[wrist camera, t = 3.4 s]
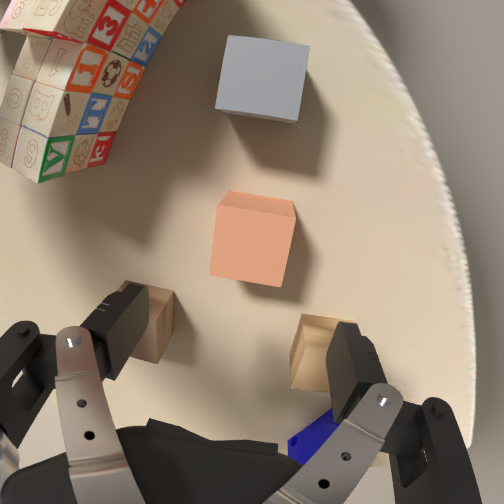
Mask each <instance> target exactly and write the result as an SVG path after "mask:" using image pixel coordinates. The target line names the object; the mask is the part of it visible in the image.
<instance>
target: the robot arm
mask: <svg viewBox="0 0 504 504" xmlns="http://www.w3.org/2000/svg"><path fill="white" fill-rule="evenodd" d="M11 1H12V0H0V23H1V21H2V19H3V17H4V15H5V13H6V11H7V9H8V7H9V5H10V3H11ZM148 323H149V290H148V287H147V286H145V285H140V284H136V283H132V282H130V283H129V284H128V285H127V286H126V287H125V288H124V289H123V291H122V292H120V291H116V292H114V293H112V294H110V295H108V296H107V297H106V298H105V299H104V300H103V301H102V303H100V305H99V306H98V307H97V309H95V310H94V311H93V312H92V313H91V314H90V315H89V316H88V317H87V319H86V320H85V321H84V322H83V323H82V324H81V325H80V326H71V327H67V328H64V329H62V330H61V331H60V332H59V333H58V334H57V336H55V335H46V334H40V331H39V328H38V326H37V324H36V323H34V322H32V321H20V322H17V323H15V324H14V325H12V326H11V327H10V328H9V329H8V330H7V331H6V332H5V333H4V334H3V336H2V337H1V338H0V504H343V503H344V502H345V501H346V499H347V498H348V497H349V495H350V494H351V492H352V491H353V490H354V488H355V487H356V486H357V484H358V483H359V481H360V480H361V479H362V477H363V475H364V474H365V472H366V471H367V470H368V468H369V467H370V465H371V464H372V462H373V460H374V459H375V457H376V456H377V454H378V452H379V451H381V452H385V453H389V459H390V465H391V472H392V479H393V487H394V495H395V503H396V504H482V501H481V497H480V493H479V489H478V485H477V482H476V478H475V475H474V472H473V468H472V465H471V462H470V459H469V455H468V452H467V449H466V446H465V443H464V440H463V438H462V435H461V432H460V429H459V427H458V424H457V421H456V419H455V416H454V413H453V411H452V409H451V407H450V405H449V404H448V403H447V402H445V401H444V400H442V399H440V398H436V397H430V398H428V399H426V400H425V401H424V402H423V404H422V405H417V404H413V403H409V402H406V401H403V397H402V395H401V393H400V392H399V391H398V390H397V389H396V388H395V387H393V386H391V385H389V384H388V383H387V380H386V378H385V375H384V372H383V369H382V366H381V363H380V362H379V358H378V355H376V353H377V352H376V350H375V347H374V344H373V343H372V342H371V341H370V340H369V339H368V338H367V337H366V336H361V333H360V330H359V328H358V325H357V324H356V323H349V322H342V321H339V322H338V324H337V326H336V329H335V331H334V334H333V337H332V339H331V342H330V345H329V347H328V350H327V354H326V368H327V375H328V381H329V388H330V395H331V402H332V410H333V417H334V423H341V424H340V425H339V426H338V428H337V429H336V430H335V431H334V432H333V434H332V435H331V436H330V437H329V438H328V439H327V441H326V442H325V443H324V444H323V445H322V446H321V447H320V449H319V450H318V451H317V452H316V453H315V454H314V455H313V456H312V457H311V458H310V459H309V461H308V462H307V463H306V464H305V465H304V466H303V465H301V464H300V463H299V462H297V461H296V460H294V459H292V458H290V457H288V456H286V455H284V454H281V453H278V444H276V443H267V442H259V441H252V440H225V441H212V440H208V439H206V438H204V437H201V436H199V435H197V434H195V433H192V432H190V431H188V430H186V429H184V428H182V427H180V426H176V425H172V424H168V423H165V422H161V421H158V420H154V419H151V418H149V420H148V422H147V425H146V426H129V427H124V428H120V429H117V430H116V429H115V426H114V423H113V420H112V416H111V413H110V410H109V407H108V403H107V400H106V396H105V393H104V389H103V385H102V382H103V380H104V379H105V377H106V378H108V379H111V380H114V381H115V380H116V378H117V376H118V375H119V373H120V371H121V370H122V368H123V366H124V365H125V363H126V362H127V360H128V358H129V357H130V355H131V353H132V352H133V350H134V348H135V347H136V345H137V344H138V342H139V340H140V339H141V337H142V336H143V334H144V332H145V331H146V329H147V326H148ZM21 370H22V372H23V374H22V376H21V377H20V378H19V380H18V381H17V383H16V384H15V385H14V387H13V388H12V384H13V381H14V379H15V378H16V376H17V375H18V374H19V373H20V371H21ZM53 389H56V395H57V402H58V410H59V416H60V422H61V428H62V433H63V438H64V444H65V448H66V452H64V453H61V454H59V455H57V456H54V457H52V458H49V459H46V460H44V461H41V462H39V463H36V464H33V465H30V466H28V467H25V468H22V469H19V460H20V458H19V453H18V450H17V449H18V447H19V446H20V444H21V442H22V440H23V438H24V437H25V435H26V433H27V431H28V430H29V428H30V426H31V425H32V423H33V421H34V420H35V418H36V416H37V414H38V413H39V411H40V410H41V408H42V406H43V405H44V403H45V401H46V400H47V398H48V397H49V395H50V394H51V392H52V390H53ZM424 451H425V453H424ZM425 455H426V457H425ZM426 459H427V461H426Z"/></svg>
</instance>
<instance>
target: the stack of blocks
mask: <svg viewBox="0 0 504 504" xmlns="http://www.w3.org/2000/svg"><path fill="white" fill-rule="evenodd" d="M184 2H185V0H12V1H11V3H10V5H9V7H8V9H7V11H6V13H5V15H4V17H3V19H2V21H1V23H0V29H1V30H6V31H11V32H15V33H19V34H23V35H27V38H26V40H25V43H24V45H23V47H22V49H21V52H20V54H19V57H18V60H17V62H16V65H15V67H14V70H13V74H12V75H11V77H10V80H9V83H8V86H7V89H6V92H5V95H4V99H3V102H2V105H1V109H0V162H2V163H3V164H5V165H6V166H8V167H9V168H13V169H14V170H16V171H17V172H19V173H20V174H22V175H24V176H26V177H27V178H29V179H31V180H32V181H34V182H36V183H42V182H45V181H48V180H51V179H54V178H57V177H61V176H63V175H64V174H66V173H71V172H75V171H79V170H83V169H86V168H88V167H92V166H97V165H101V164H104V163H105V161H106V157H107V154H108V152H109V149H110V146H111V143H112V141H113V137H114V135H115V131H117V130H118V127H119V125H120V123H121V120H122V118H123V115H124V113H125V111H126V108H127V106H128V104H129V100H130V99H131V97H132V95H133V93H134V91H135V89H136V87H137V85H138V83H139V81H140V79H141V77H142V74H143V73H144V71H145V66H146V65H147V63H148V61H149V59H150V57H151V56H152V54H153V52H154V50H155V48H156V46H157V45H158V43H159V41H160V40H161V37H162V35H163V34H164V32H165V31H166V29H167V27H168V25H169V24H170V22H171V21H172V19H173V17H174V16H175V14H176V13H177V11H178V9H179V8H180V7H181V6H182V5H183V3H184Z"/></svg>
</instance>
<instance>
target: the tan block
mask: <svg viewBox="0 0 504 504" xmlns="http://www.w3.org/2000/svg"><path fill="white" fill-rule="evenodd" d="M130 282H131V281H127V280H126V281H125V282H124V283H123V284H122V285H121V287H120V288H119V289H118V290H117V291H120V292H122V291H123V289H124V288H125V287H126V286H127V285H128V284H129V283H130ZM132 283H135V282H132ZM136 284H140V283H136ZM140 285H144V284H140ZM145 286H147V287H148V290H149V323H148V326H147V329H146V331H145V332H144V334H143V336H142V337H141V339H140V340H139V342H138V344H137V345H136V347H135V348H134V350H133V352H132V353H131V355H130V357H133V358H137V359H140V360H144V361H148V362H151V363H155V364H158V362H159V360H160V358H161V356H162V354H163V352H164V350H165V348H166V346H167V344H168V342H169V339H170V337H171V335H172V333H173V301H174V291H172V290H167V289H162V288H158V287H153V286H149V285H145Z"/></svg>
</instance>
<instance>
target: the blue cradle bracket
mask: <svg viewBox="0 0 504 504" xmlns="http://www.w3.org/2000/svg"><path fill="white" fill-rule="evenodd" d="M340 424H341V423H334V417H333V410H332V408H331V409H330V410H329V411H328V412H326V413H325V414H324V415H322V416H321V417H320V418H318V419H317V420H316V421H314V422H313V423H312V424H310V425H309V426H308V427H306V428H305V429H304V430H302V431H301V432H299V433H298V434H296V435H295V436H294V437H292V438H291V439H289V440H288V457H290V458H292V459H294V460H296V461H297V462H299V463H300V464H301V465H303V466H304V465H305V464H306V463H307V462H308V461H309V459H310V458H311V457H312V456H313V455H314V454H315V453H316V452H317V451H318V450H319V449H320V447H321V446H322V445H323V444H324V443H325V442H326V441H327V439H328V438H329V437H330V436H331V435H332V434H333V432H334V431H335V430H336V429H337V428H338V426H339V425H340Z"/></svg>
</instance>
